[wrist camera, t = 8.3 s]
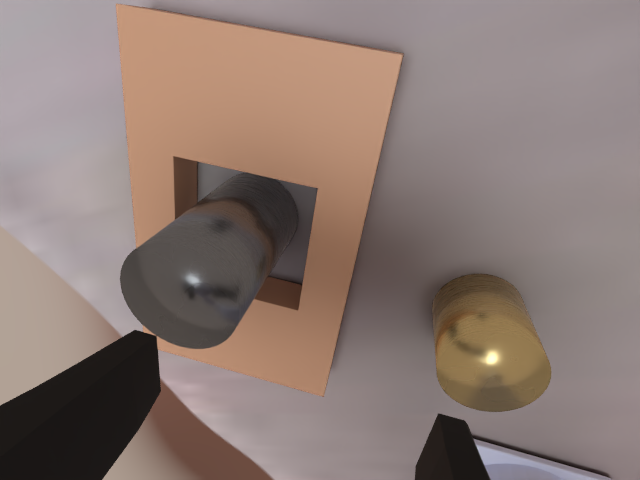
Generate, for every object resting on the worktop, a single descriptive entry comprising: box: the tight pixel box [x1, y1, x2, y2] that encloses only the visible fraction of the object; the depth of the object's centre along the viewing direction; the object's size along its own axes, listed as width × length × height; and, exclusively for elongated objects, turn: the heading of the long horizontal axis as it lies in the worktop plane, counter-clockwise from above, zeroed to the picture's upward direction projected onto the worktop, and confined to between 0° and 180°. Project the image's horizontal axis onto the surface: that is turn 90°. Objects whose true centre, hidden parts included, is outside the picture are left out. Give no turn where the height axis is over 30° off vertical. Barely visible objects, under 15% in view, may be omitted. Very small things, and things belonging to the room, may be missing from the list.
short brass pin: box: [432, 274, 551, 412], centre depth 16 cm, size 4×4×4 cm
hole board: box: [116, 4, 404, 397], centre depth 18 cm, size 16×10×2 cm, turn 171°
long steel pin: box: [120, 173, 298, 349], centre depth 15 cm, size 4×4×7 cm
